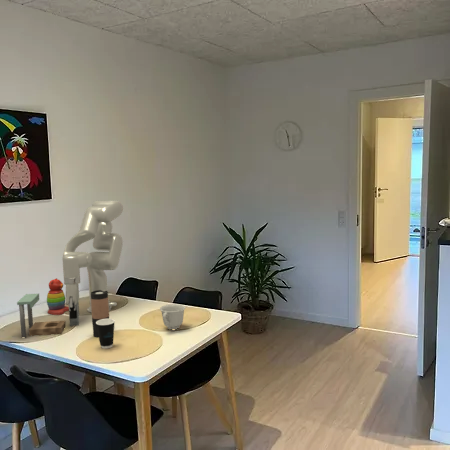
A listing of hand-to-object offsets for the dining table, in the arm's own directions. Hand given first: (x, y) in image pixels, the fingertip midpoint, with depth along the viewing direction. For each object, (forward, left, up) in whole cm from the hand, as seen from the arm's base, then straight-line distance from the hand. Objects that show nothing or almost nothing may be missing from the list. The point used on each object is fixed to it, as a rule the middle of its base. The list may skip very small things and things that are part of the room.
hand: (74, 316), depth 229 cm
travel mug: (-15, +18, -4) cm, 24 cm away
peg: (0, 0, -4) cm, 4 cm away
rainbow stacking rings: (+13, -23, -4) cm, 27 cm away
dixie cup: (-19, +33, -4) cm, 38 cm away
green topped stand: (+18, +8, -4) cm, 20 cm away
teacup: (-47, +17, -4) cm, 50 cm away
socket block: (+11, +8, -4) cm, 14 cm away
